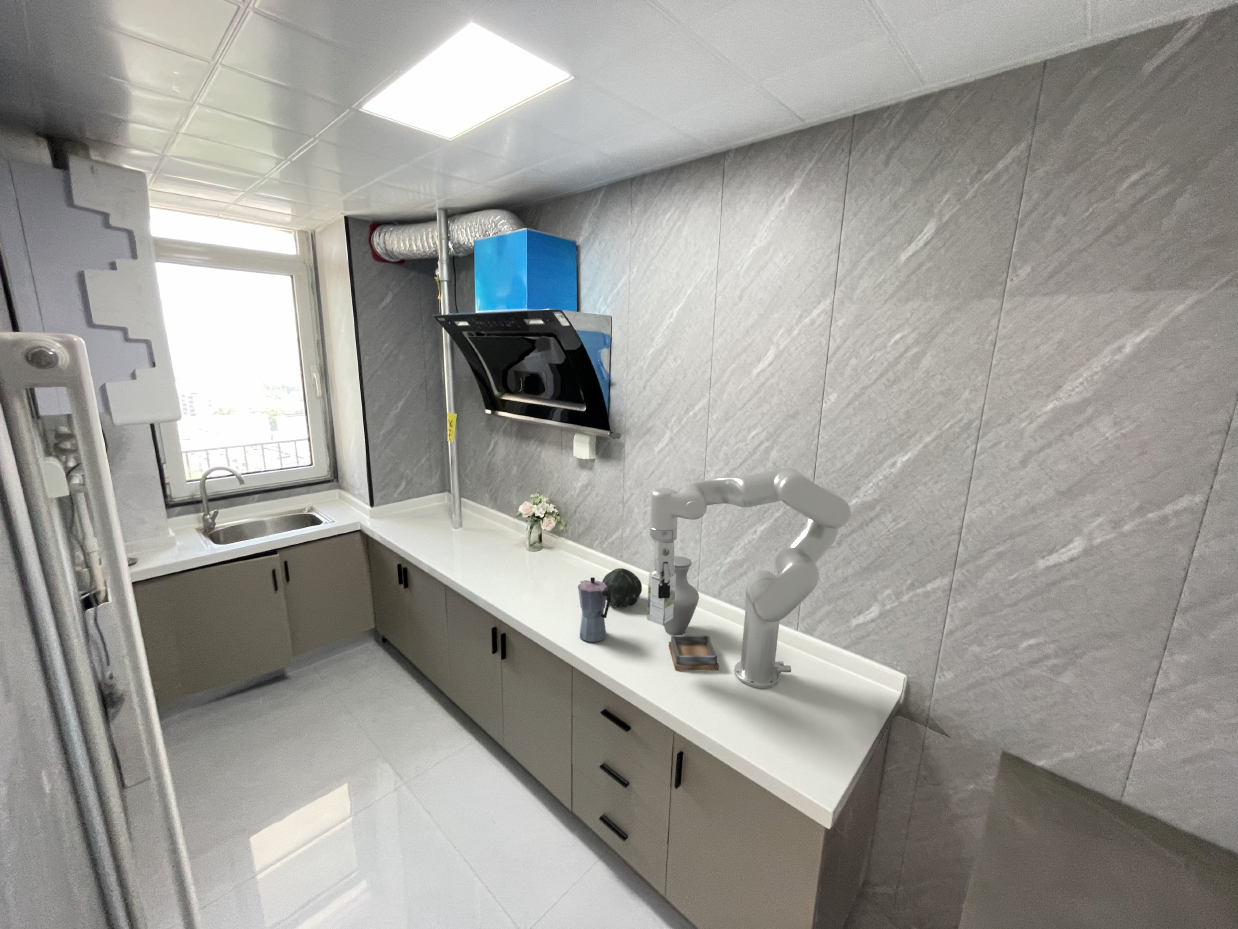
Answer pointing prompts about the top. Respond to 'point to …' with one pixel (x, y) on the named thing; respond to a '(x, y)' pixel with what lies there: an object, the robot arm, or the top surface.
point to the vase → (682, 598)
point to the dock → (693, 652)
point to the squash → (622, 587)
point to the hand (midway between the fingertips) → (661, 590)
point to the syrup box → (660, 600)
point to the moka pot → (593, 609)
